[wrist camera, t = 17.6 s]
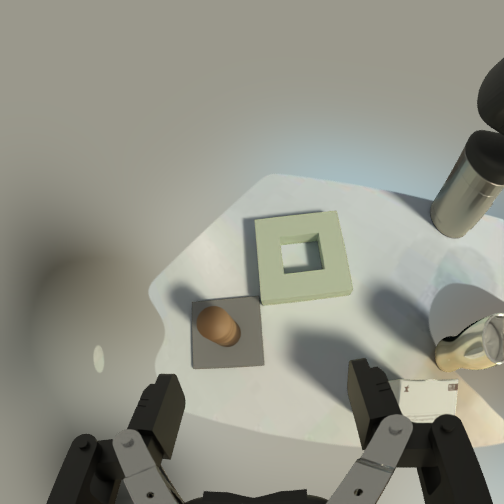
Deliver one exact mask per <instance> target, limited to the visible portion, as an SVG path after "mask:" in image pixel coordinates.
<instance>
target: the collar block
mask: <svg viewBox="0 0 504 504" xmlns="http://www.w3.org/2000/svg"><path fill="white" fill-rule="evenodd" d="M255 231H256V243H257V255H258V267H259V280H260V292H261V301H262V304H263V306H264V305H274V304H283V303H292V302H301V301H309V300H317V299H325V298H333V297H340V296H347V295H350V294H351V292H352V291H353V286H352V280H351V275H350V270H349V265H348V260H347V255H346V250H345V245H344V241H343V236H342V232H341V227H340V223H339V219H338V214H337V211H328V212H319V213H309V214H300V215H291V216H282V217H274V218H265V219H257V220H255ZM313 241H318V247H319V253H320V258H321V264H322V270H314V271H306V272H297V273H289V274H284V270H283V261H282V253H281V245H287V244H296V243H304V242H313Z"/></svg>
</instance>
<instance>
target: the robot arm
mask: <svg viewBox="0 0 504 504" xmlns="http://www.w3.org/2000/svg"><path fill="white" fill-rule="evenodd" d="M477 104H478V105H477V106H478V112H479V114H480V117H481V118H482V119H483V121H484V122H485V123H486V124H487V125H489V126H490V127H491V128H493V129H495V130H496V131H497V132H499V133H495V132H491V131H485V130H479V131H476V132H474V133H473V134H472V135H471V136H470V137H469V139H468V141H467V143H466V145H465V147H464V149H463V151H462V153H461V155H460V157H459V159H458V160H457V162H456V164H455V166H454V168H453V170H452V171H451V173H450V175H449V176H448V178H447V180H446V182H445V184H444V185H443V187H442V189H441V190H440V192H439V193H438V195H437V197H436V198H435V200H434V202H433V203H432V205H431V209H430V214H431V218H432V221H433V223H434V225H435V226H436V228H437V229H438V230H439V231H440V232H441V233H443V234H444V235H446V236H448V237H451V238H460V237H463V236H464V235H465V234H466V233H467V232H468V231H469V230H470V229H472V228H473V227H474V226H475V225H476V224H477V222H478V221H479V220H480V219H481V218H482V217H483V215H484V214H485V213H486V212H487V211H488V210H489V208H490V207H491V206H492V204H493V201H494V200H495V199H496V198H497V196H498V195H499V194H500V192H501V191H502V190H503V188H504V58H503V59H502V60H501V61H500V62H498V64H496V65H495V66H494V67H493V68H492V69H491V70H490V71H489V73H488V74H487V76H486V77H485V79H484V81H483V82H482V85H481V87H480V90H479V94H478V100H477ZM347 389H348V396H349V400H350V403H351V407H352V411H353V414H354V418H355V422H356V426H357V430H358V434H359V438H360V442H361V446H362V450H365V451H364V453H363V455H362V456H361V458H360V459H357V460H356V462H355V463H354V464H353V466H352V468H351V469H350V471H349V472H348V474H347V475H346V476H345V478H344V479H343V481H342V482H341V484H340V485H339V487H338V488H337V489H336V491H335V492H334V494H333V495H332V496H331V498H330V499H329V500H327V499H324V498H321V497H318V496H313V495H307V490H306V489H304V490H293V491H281V492H277V493H273V494H269V495H265V496H261V497H256V498H251V497H246V496H241V495H237V494H233V493H228V492H208V491H204V494H203V497H201V498H196V499H193V500H190V501H188V502H186V503H185V502H184V501H183V499H182V498H181V497H180V495H179V494H178V492H177V491H176V489H175V488H174V486H173V484H172V483H171V481H170V479H169V478H168V476H167V475H166V473H165V471H164V469H163V467H162V466H161V461H162V459H171V456H172V452H173V448H174V445H175V441H176V438H177V434H178V431H179V427H180V423H181V420H182V416H183V413H184V409H185V396H184V393H183V391H182V388H181V386H180V383H179V381H178V378H177V376H176V375H175V374H159V376H158V378H157V381H156V383H155V384H150V385H149V386H148V387H147V388H146V389H145V390H144V391H143V393H142V395H141V398H140V401H139V402H138V405H137V407H136V409H135V412H134V414H133V416H132V419H131V421H130V424H129V426H128V428H127V430H123V431H121V432H119V433H118V434H117V435H116V436H115V437H114V439H111V440H101V441H97V440H96V438H95V437H94V436H92V435H90V434H82V435H80V436H78V437H76V438H75V439H74V441H73V442H72V444H71V447H70V449H69V451H68V453H67V455H66V458H65V460H64V462H63V465H62V467H61V469H60V472H59V474H58V476H57V479H56V481H55V484H54V486H53V489H52V491H51V493H50V496H49V498H48V501H47V504H115V501H116V498H117V494H118V490H119V487H120V483H121V480H122V479H124V482H125V484H126V487H127V489H128V491H129V493H130V495H131V498H132V500H133V502H134V504H376V503H377V501H378V500H379V498H380V496H381V494H382V493H383V491H384V489H385V487H386V485H387V484H388V482H389V480H390V478H391V476H392V474H393V473H394V471H395V469H396V467H416V468H417V472H418V475H419V479H420V483H421V487H422V492H423V496H424V501H425V504H493V502H492V499H491V496H490V493H489V490H488V487H487V484H486V481H485V478H484V476H483V473H482V470H481V468H480V465H479V462H478V460H477V458H476V455H475V452H474V450H473V447H472V445H471V442H470V440H469V438H468V435H467V433H466V431H465V429H464V426H463V424H462V422H461V420H460V419H459V418H458V417H456V416H455V415H451V414H444V415H440V416H439V417H437V418H436V419H435V420H434V422H433V423H416V422H412V421H411V420H410V419H409V418H407V417H406V416H403V414H402V412H401V410H400V407H399V405H398V403H397V400H396V398H395V395H394V393H393V391H392V390H391V386H390V384H389V382H388V379H387V377H386V374H385V373H384V372H383V371H382V370H381V369H380V368H378V367H373V368H370V367H369V364H368V362H367V360H366V358H362V359H356V360H350V361H349V368H348V382H347Z"/></svg>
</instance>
